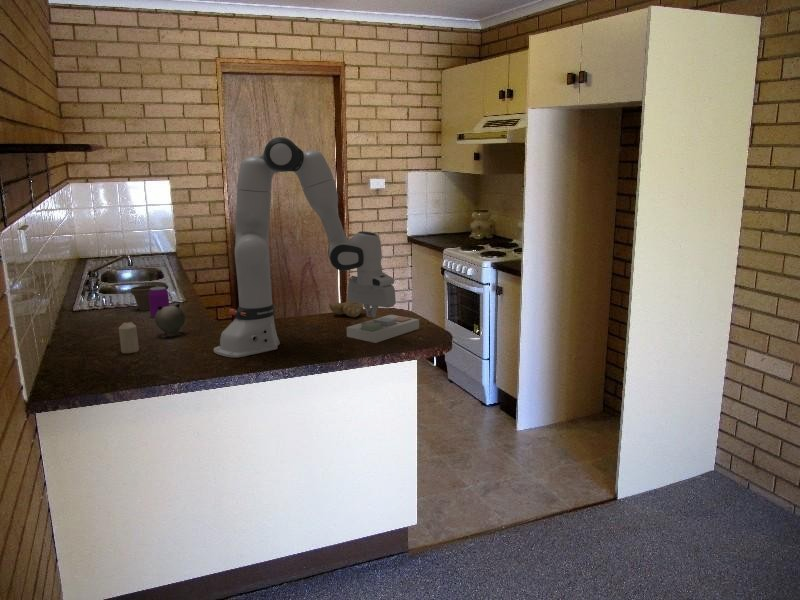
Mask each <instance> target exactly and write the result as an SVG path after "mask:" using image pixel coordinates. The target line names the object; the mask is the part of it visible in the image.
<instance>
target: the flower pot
mask: <svg viewBox="0 0 800 600" xmlns="http://www.w3.org/2000/svg"><path fill="white" fill-rule="evenodd" d="M152 287H159V285H156V284H146V285H137V286H134V287H131V288H130V293H131V295H133V296H134V300H135V302H136V305H137V307H138V309H139V311H141V312H147V311H149V312H150V304H149V291H150V288H152Z"/></svg>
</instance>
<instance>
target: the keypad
mask: <svg viewBox="0 0 800 600" xmlns="http://www.w3.org/2000/svg"><path fill="white" fill-rule="evenodd" d="M397 317H403V316H400V315H395V314H388V315H385V316H381V317H378V318H373V319H370V320H367V321H364V322H360V323H357V324H353V325H350V326H346V337H347V338H351V339H355V340H360V341H364V342H369V343H373V344H377V343H379V342H382V341H385V340H389V339H392V338H395V337H398V336H401V335H405V334H407V333H410V332H413V331H417V330H420V319H418V318H413V317H406V316H404V317H405V318H410V320H408V321H405V322H396V324H395V325H392V326H389V327H385V326H381V328H382V329H379V330H376V331H373V332H371V331H366V330H362V328H361V325H362V324H366V323H369V322H374V323H377V320H379V319H383V318H391V319H394V318H397Z"/></svg>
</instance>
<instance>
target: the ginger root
mask: <svg viewBox="0 0 800 600" xmlns="http://www.w3.org/2000/svg"><path fill="white" fill-rule="evenodd" d="M328 307H329V309H330V311H332V312H333V313H335V314H336V313H337V316H338V315H339V316H342V315H346V316H348V317H350V318H356V317H359V316H360V314H361V313H362V312H363V311H364V310H365V308H364V304H362V303H356V302H350V301H349V300H348V299H347V300H346V302H333V303H332V302H331V303H329V305H328Z"/></svg>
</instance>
